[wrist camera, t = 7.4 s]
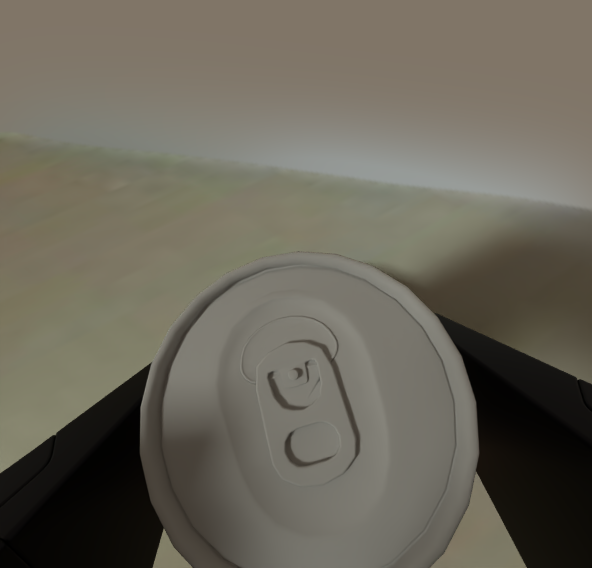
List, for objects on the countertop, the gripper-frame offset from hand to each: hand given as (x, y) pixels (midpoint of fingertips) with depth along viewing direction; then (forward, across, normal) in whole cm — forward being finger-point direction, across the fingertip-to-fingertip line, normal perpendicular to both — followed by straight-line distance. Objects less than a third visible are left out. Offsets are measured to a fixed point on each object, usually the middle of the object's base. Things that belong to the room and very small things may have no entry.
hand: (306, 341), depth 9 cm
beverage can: (+5, 0, +7) cm, 8 cm away
